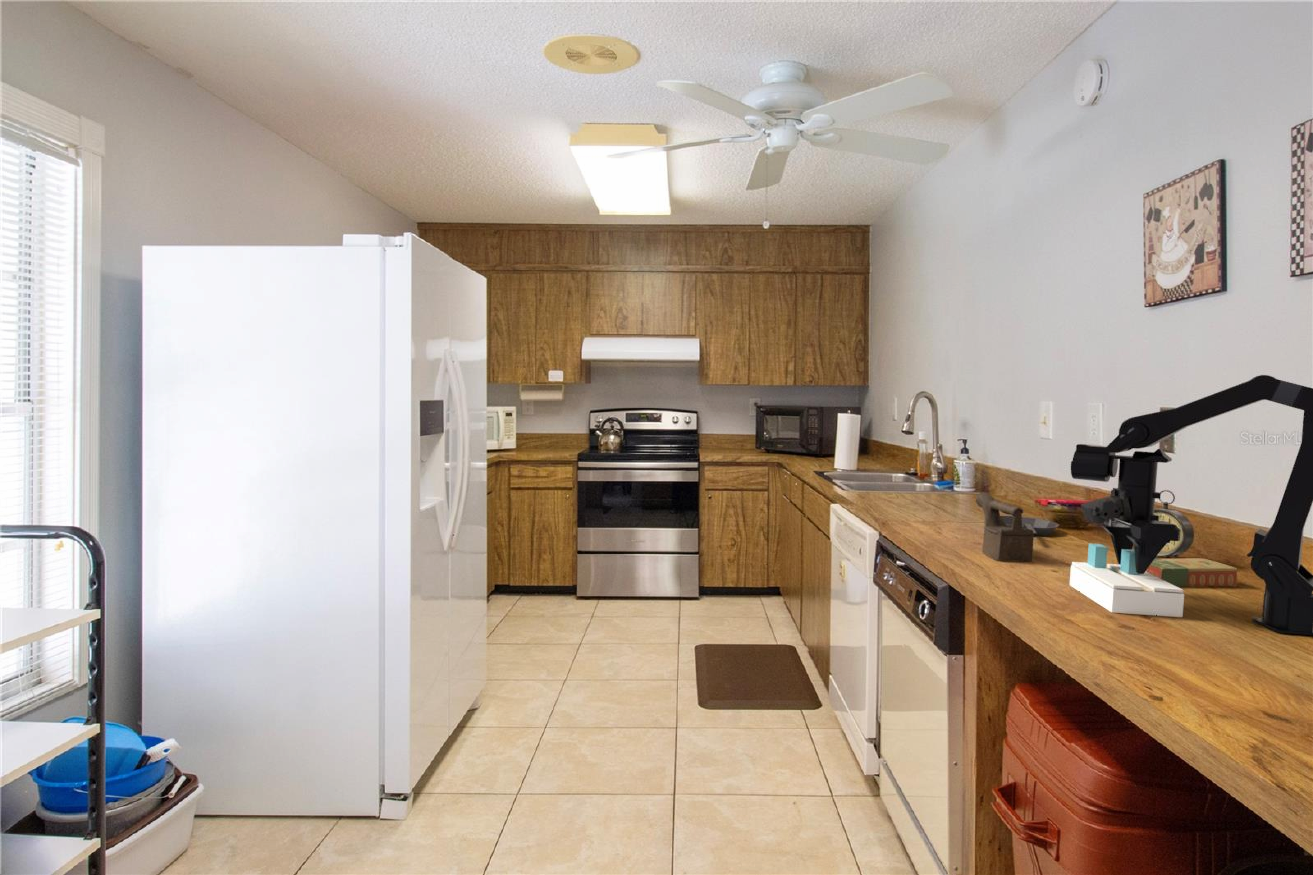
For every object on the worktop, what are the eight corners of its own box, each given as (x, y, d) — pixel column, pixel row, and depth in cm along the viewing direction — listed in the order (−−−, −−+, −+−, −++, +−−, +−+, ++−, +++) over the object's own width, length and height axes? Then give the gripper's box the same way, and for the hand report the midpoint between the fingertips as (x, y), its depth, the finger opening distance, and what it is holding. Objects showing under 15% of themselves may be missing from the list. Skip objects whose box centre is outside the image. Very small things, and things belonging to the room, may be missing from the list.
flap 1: (1071, 564, 136) (1073, 541, 136) (1096, 565, 135) (1098, 543, 135) (1113, 588, 119) (1115, 562, 119) (1142, 590, 119) (1144, 564, 118)
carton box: (1182, 617, 118) (1184, 593, 118) (1111, 612, 120) (1113, 589, 119) (1130, 589, 135) (1132, 568, 134) (1069, 585, 136) (1070, 564, 136)
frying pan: (1053, 528, 196) (1054, 515, 196) (1075, 552, 167) (1076, 536, 166) (983, 522, 203) (984, 509, 202) (992, 544, 173) (993, 529, 173)
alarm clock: (1130, 555, 163) (1135, 487, 162) (1144, 553, 166) (1149, 486, 165) (1181, 567, 154) (1187, 494, 152) (1195, 565, 156) (1201, 493, 155)
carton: (1237, 588, 138) (1239, 567, 138) (1160, 588, 137) (1162, 567, 137) (1201, 577, 146) (1203, 557, 146) (1129, 576, 145) (1130, 556, 145)
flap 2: (1183, 592, 118) (1185, 566, 117) (1153, 590, 119) (1155, 564, 118) (1132, 567, 134) (1134, 544, 134) (1107, 566, 135) (1108, 543, 135)
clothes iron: (997, 546, 170) (1001, 492, 169) (1034, 563, 154) (1038, 502, 153) (965, 546, 170) (968, 491, 169) (999, 562, 154) (1002, 502, 153)
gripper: (1067, 476, 138) (1062, 554, 139) (1113, 490, 119) (1107, 579, 120) (1129, 479, 136) (1123, 557, 137) (1185, 493, 118) (1178, 583, 119)
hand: (1130, 568), depth 128 cm, fingers open, 6 cm apart
